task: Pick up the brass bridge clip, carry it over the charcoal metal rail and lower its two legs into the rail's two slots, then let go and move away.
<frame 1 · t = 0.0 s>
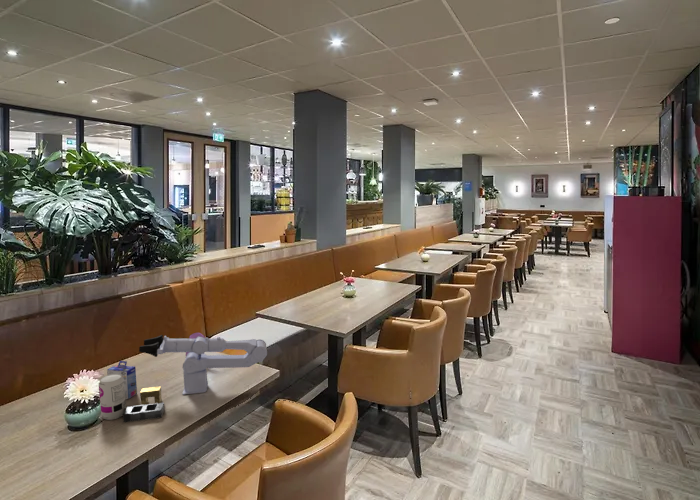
hand: (141, 345, 169), 22 cm above the table, tool horizontal, fingers open, 7 cm apart
clip: (151, 403, 165), on the table
ink cartridge box: (123, 395, 172), on the table
supplement can: (114, 415, 157), on the table
toy chair: (196, 363, 204), on the table
rail: (144, 415, 156), on the table
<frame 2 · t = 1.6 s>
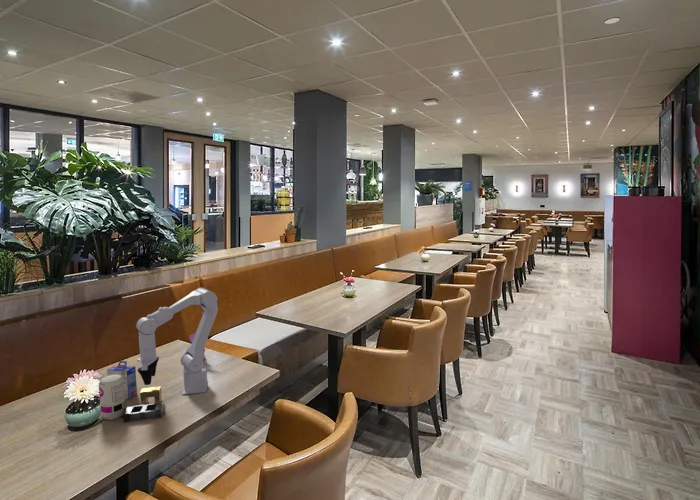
hand: (149, 380, 164), 10 cm above the table, tool pointing down, fingers open, 7 cm apart
nothing on the table moved.
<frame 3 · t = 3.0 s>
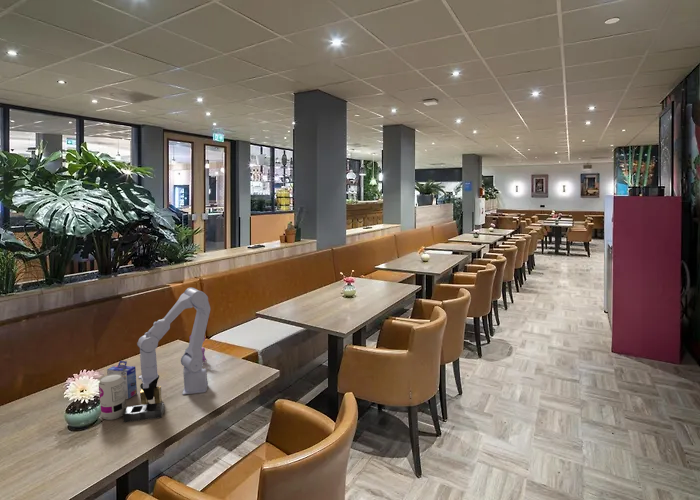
hand: (151, 397, 165), 3 cm above the table, tool pointing down, fingers closed on clip, 3 cm apart
clip: (151, 403, 165), on the table, touching gripper
everything else where it was.
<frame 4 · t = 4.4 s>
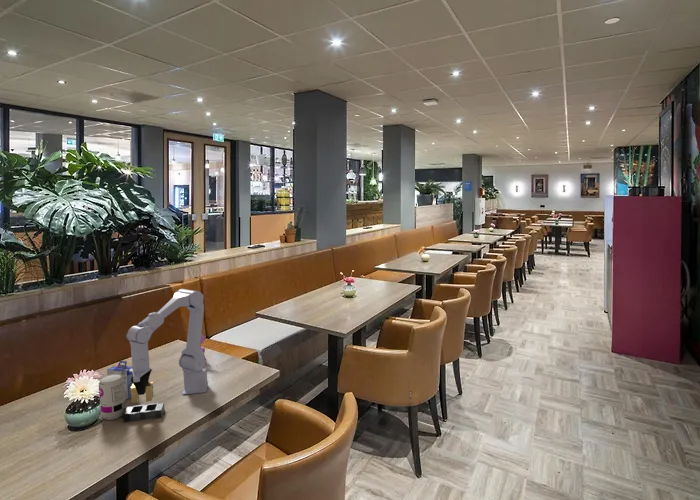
hand: (142, 391, 155), 10 cm above the table, tool pointing down, fingers closed on clip, 3 cm apart
clip: (142, 399, 155), point 6 cm above the table, touching gripper
everything else where it was.
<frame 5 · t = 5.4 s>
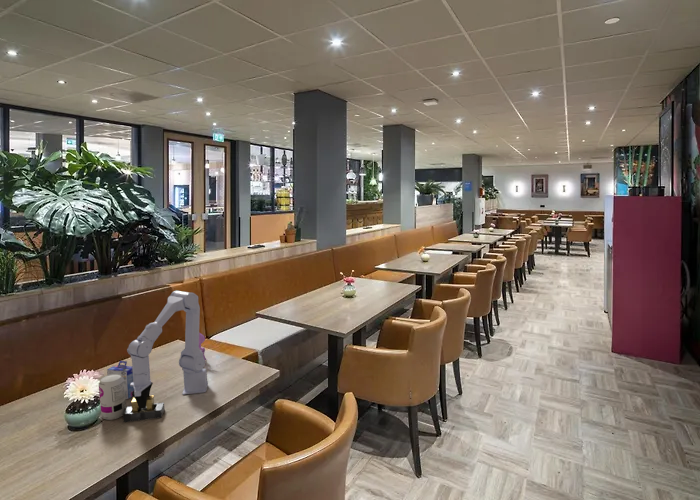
hand: (143, 405, 155), 4 cm above the table, tool pointing down, fingers closed on clip, 3 cm apart
clip: (143, 413, 156), point 1 cm above the table, touching gripper
everything else where it was.
when the fingers open (4 cm above the table, at t = 5.9 s): clip stays where it is, resting in rail.
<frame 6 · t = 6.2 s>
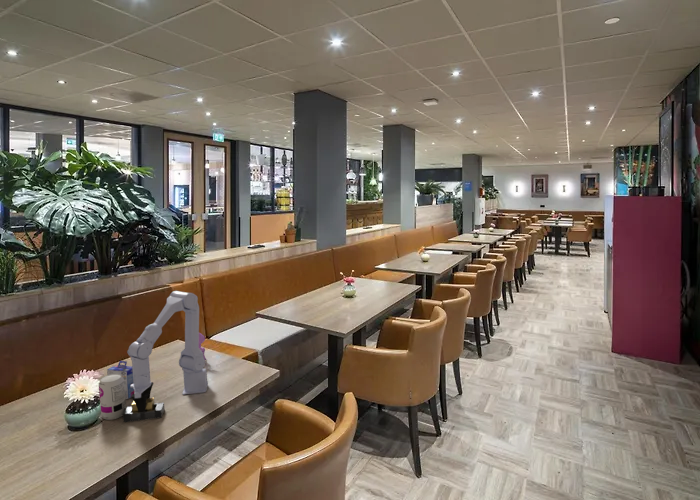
hand: (143, 406, 155), 4 cm above the table, tool pointing down, fingers open, 6 cm apart
clip: (144, 415, 156), resting in rail
everything else where it was.
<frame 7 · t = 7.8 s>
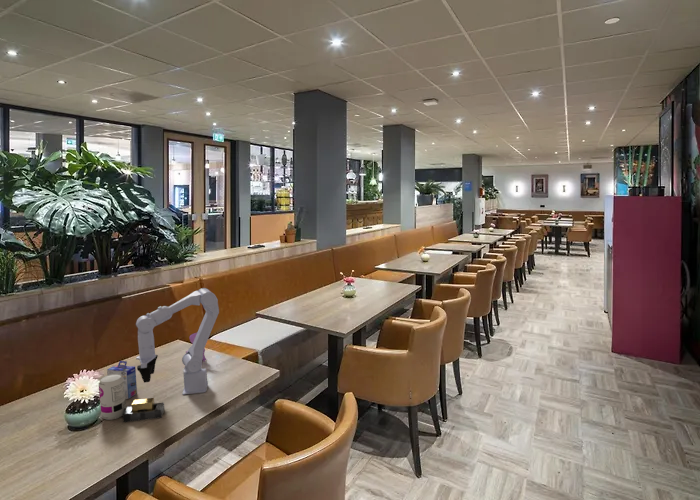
hand: (149, 377, 166), 10 cm above the table, tool pointing down, fingers open, 7 cm apart
nothing on the table moved.
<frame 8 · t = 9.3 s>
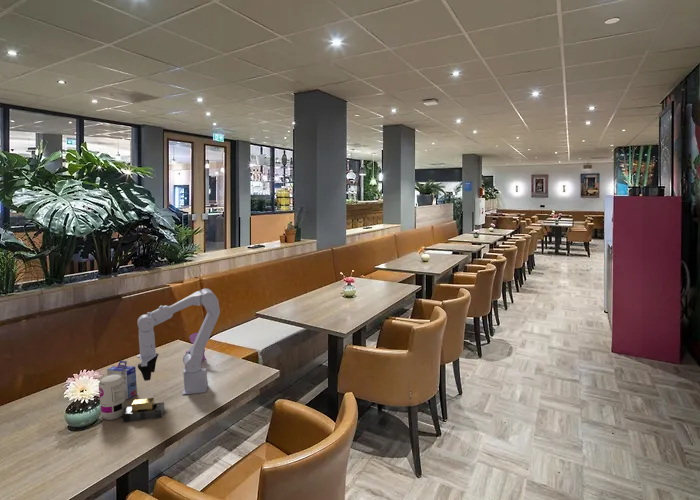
hand: (149, 376, 167), 10 cm above the table, tool pointing down, fingers open, 7 cm apart
nothing on the table moved.
at the end: clip 0.2 cm off-centre on the rail, point 0.0 cm above the rail's base; clip tilted 0°; the gripper is holding nothing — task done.
